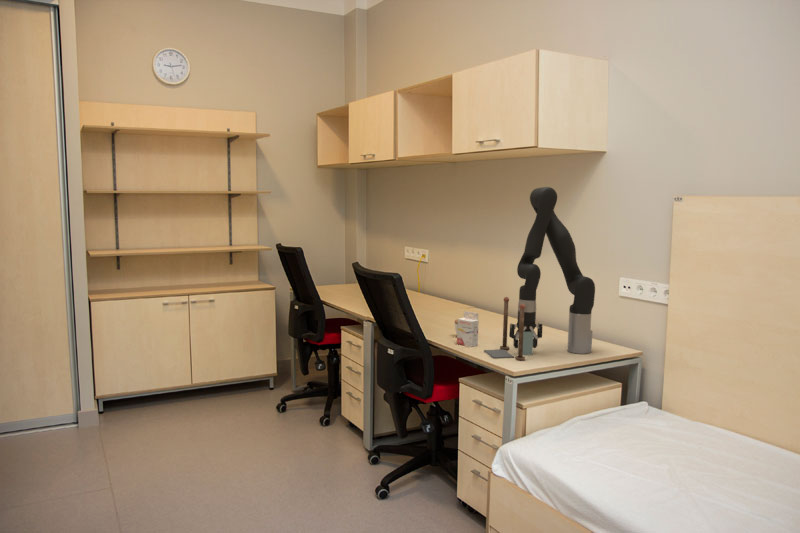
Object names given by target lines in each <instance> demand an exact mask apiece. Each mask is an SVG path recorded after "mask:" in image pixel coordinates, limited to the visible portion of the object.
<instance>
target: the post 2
mask: <svg viewBox="0 0 800 533" xmlns="http://www.w3.org/2000/svg"><path fill="white" fill-rule="evenodd" d="M519 308H520V319H519V338H518V348H517V355H516V356H514V360H515V361H517V362H525V361H526V357H525V356H524V355H523V331H524V309H525V305H524V304H520V306H519Z"/></svg>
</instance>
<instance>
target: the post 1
mask: <svg viewBox="0 0 800 533" xmlns="http://www.w3.org/2000/svg"><path fill="white" fill-rule="evenodd" d="M509 301H510V298H509V297H508V296H505V297H503V302H504V303H503V323H502V326H503V327H502V330H503V331H502V345H500V346H499V350H503V349H504V350H505V351H508V350H510V346H508V320H509V319H508V318H509Z"/></svg>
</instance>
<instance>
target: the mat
mask: <svg viewBox="0 0 800 533" xmlns="http://www.w3.org/2000/svg"><path fill="white" fill-rule="evenodd" d="M483 352H484V353H485V354H487V355H488V356H489V357H491V358H492V359H515V356H514V355H513V354H511V353H510V352H508V350H504V349H503V350H501V349H483Z"/></svg>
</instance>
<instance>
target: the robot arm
mask: <svg viewBox="0 0 800 533" xmlns="http://www.w3.org/2000/svg"><path fill="white" fill-rule="evenodd" d="M557 200H558V194H557V192H556V190H555V189H554V188H553V187H550V186H544V187H542V186H541V187H537V188H534V189H533V190H532V191H531V192H530V194H529V202H530V205H531V207H532V208H533V210H534V212H535V214H536V216H535V219H534V221H533V224H532V226H531V228H530V230H529V233H528V235H527V238H526V242H525V246H524V251H523V253H522V256H521V257H520V260H519V261H518V264H517V268H516V269H517V270H516V273H517V276H518V277H519V278H520V279H522V280H524V281H525V282H524V285H523V284H522V285H521V286H520V287H519V292H518V304H517V323H510V324H509V333H508V334H509V338H511V339H513V347H514V348H515V349H518V344H519V319H520V308H519V306H520V304H524V305H525V309H524V331H531V332H533V348H534V349H536V348H537V347H538V342H539V341H538V339H540V338H541V339H542V338H543V323H540V322H538V323H536V317H537V315H536V314H537V290H538V287H539V284H540V283H539V282H540V280H541V276H542V275H541V274H542V272H541V269H540V267H539V266H538V265H537V264H535V260H536V259H540V258H541V255H542V251H543V246H544V240H545V237H547V240H548V242H549V245H550V247H551V249H552V252H553V253H554V255H555V258H556V260H557V262H558V264H559V267H560V269H561V271H562V273H563V277H564V280H565V283H566V286H567V289H568V291H569V292H570V294H571V295H573V296H574V297H573V303H572V304H571V305H569V310H568V311H569V312H568V313H569V314H568V332H567V352H569V353H572V354H579V355H581V354H582V355H584V354H585V355H586V354H590V353H592V348H593V347H592V345H593V331H592V330H591V326H592V310H593V308H594V305H595V296H596V295H595V294H596V284H595V282H594V280H593V279H592V278H590V277H588V276H585V275H583V273H582V271H581V270H580V267H579V265H578V262H577V251H576V250H577V249H576V245H575V242H574V240H573V237H572V236H571V233H570V231H569V230H568V228H567V227H566V226H565V225H564V224H563V222H562V221H561V220H560V219H559V218H558V216H557V215H556V213H555V211H554V210H555V207H556V204H557ZM536 329H537V331H535V330H536ZM515 330H516V332H515ZM524 331H523V332H524Z"/></svg>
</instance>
